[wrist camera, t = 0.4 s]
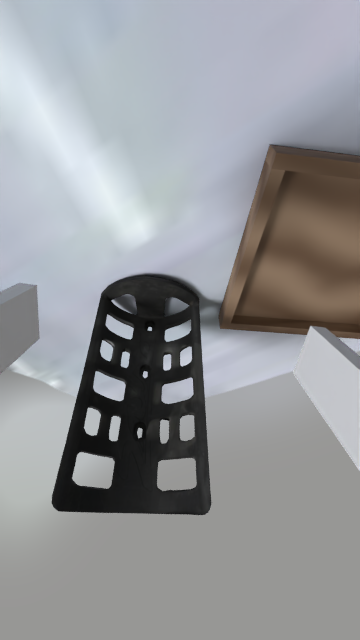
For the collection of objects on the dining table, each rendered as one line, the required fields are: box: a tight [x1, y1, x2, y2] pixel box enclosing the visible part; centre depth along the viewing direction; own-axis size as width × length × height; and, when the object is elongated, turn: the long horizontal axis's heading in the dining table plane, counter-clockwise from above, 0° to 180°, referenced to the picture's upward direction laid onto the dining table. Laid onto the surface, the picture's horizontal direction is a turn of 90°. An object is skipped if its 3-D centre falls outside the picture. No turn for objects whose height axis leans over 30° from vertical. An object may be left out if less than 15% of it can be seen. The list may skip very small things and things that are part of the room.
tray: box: [219, 145, 360, 339], centre depth 26 cm, size 18×18×2 cm
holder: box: [52, 276, 211, 515], centre depth 25 cm, size 11×8×20 cm
